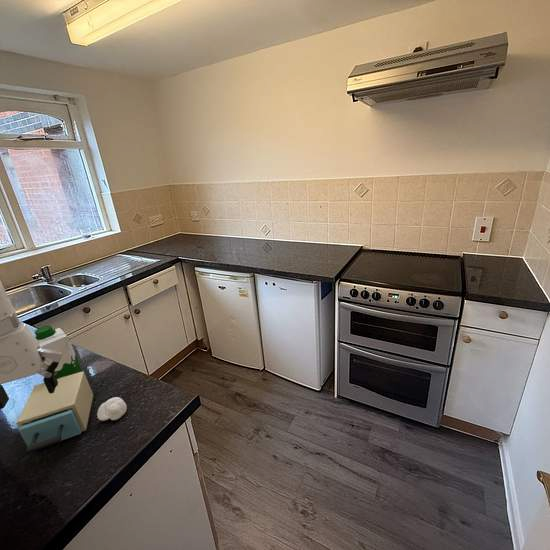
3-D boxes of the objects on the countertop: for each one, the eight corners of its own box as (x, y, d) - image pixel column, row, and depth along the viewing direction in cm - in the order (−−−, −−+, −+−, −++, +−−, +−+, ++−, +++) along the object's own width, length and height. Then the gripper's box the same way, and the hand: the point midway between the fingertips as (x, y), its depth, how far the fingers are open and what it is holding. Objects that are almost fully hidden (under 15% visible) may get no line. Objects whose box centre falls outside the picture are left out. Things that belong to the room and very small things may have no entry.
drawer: (77, 450, 68) (66, 428, 66) (22, 470, 65) (9, 448, 62) (88, 399, 84) (80, 380, 81) (45, 413, 80) (35, 394, 78)
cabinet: (85, 430, 75) (74, 403, 72) (30, 449, 71) (16, 422, 68) (93, 395, 87) (83, 371, 83) (46, 410, 83) (34, 385, 80)
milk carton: (81, 374, 96) (58, 320, 89) (90, 386, 90) (67, 329, 83) (49, 390, 90) (22, 333, 83) (56, 403, 85) (28, 344, 77)
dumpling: (125, 403, 82) (124, 393, 81) (128, 418, 79) (127, 408, 77) (95, 412, 79) (94, 401, 77) (97, 428, 75) (96, 417, 73)
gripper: (-77, 351, 52) (-30, 425, 58) (41, 323, 58) (72, 393, 64) (-52, 331, 58) (-13, 399, 65) (51, 307, 64) (78, 373, 71)
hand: (29, 396), depth 64 cm, fingers open, 8 cm apart
